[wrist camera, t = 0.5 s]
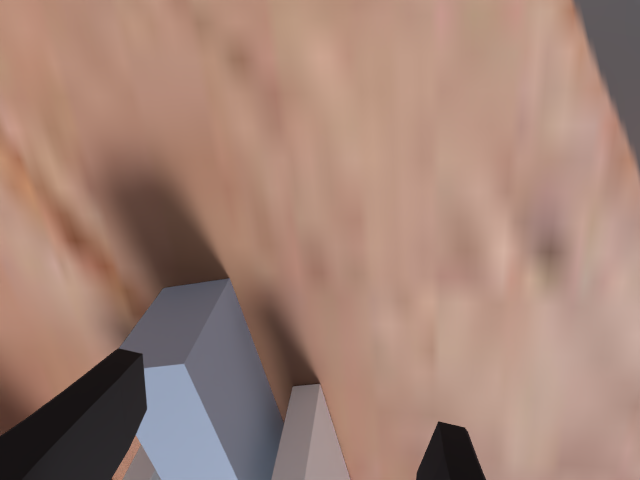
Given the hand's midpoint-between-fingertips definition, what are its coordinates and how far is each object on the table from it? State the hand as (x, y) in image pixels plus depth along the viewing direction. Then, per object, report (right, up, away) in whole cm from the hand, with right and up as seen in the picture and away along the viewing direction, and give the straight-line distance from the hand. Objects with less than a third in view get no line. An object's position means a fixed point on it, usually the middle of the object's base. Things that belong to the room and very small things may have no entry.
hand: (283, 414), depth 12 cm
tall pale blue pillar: (-4, -3, +14) cm, 15 cm away
